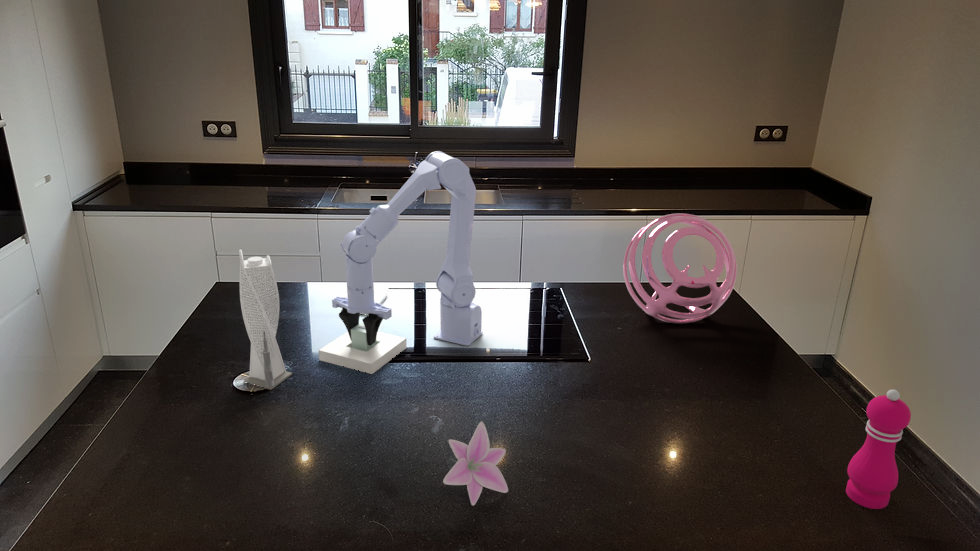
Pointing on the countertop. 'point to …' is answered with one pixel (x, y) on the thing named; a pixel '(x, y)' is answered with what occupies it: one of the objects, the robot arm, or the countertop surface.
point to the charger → (360, 338)
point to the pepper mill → (878, 452)
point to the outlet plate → (362, 352)
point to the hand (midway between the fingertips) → (363, 341)
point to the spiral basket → (681, 277)
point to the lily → (476, 465)
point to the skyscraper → (261, 321)
